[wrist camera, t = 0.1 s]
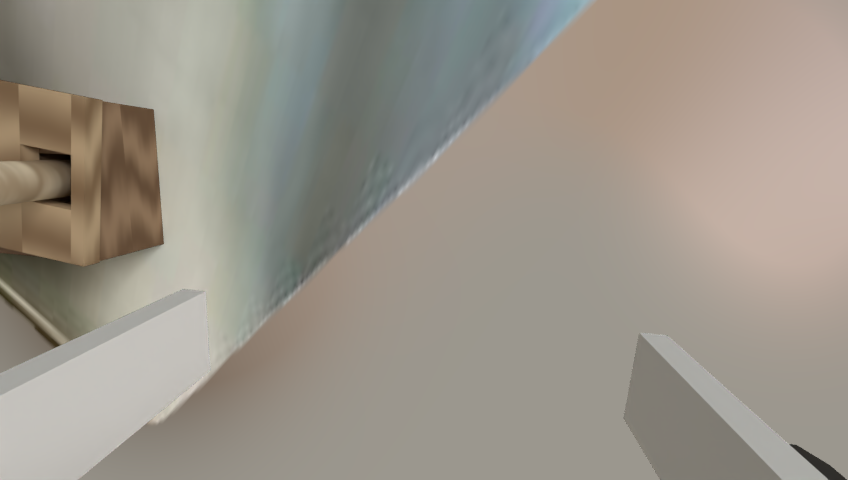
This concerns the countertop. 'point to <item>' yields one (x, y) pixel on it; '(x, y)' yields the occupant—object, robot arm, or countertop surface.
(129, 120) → the toolbox
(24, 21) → the countertop surface
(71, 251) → the toolbox lid
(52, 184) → the pin
